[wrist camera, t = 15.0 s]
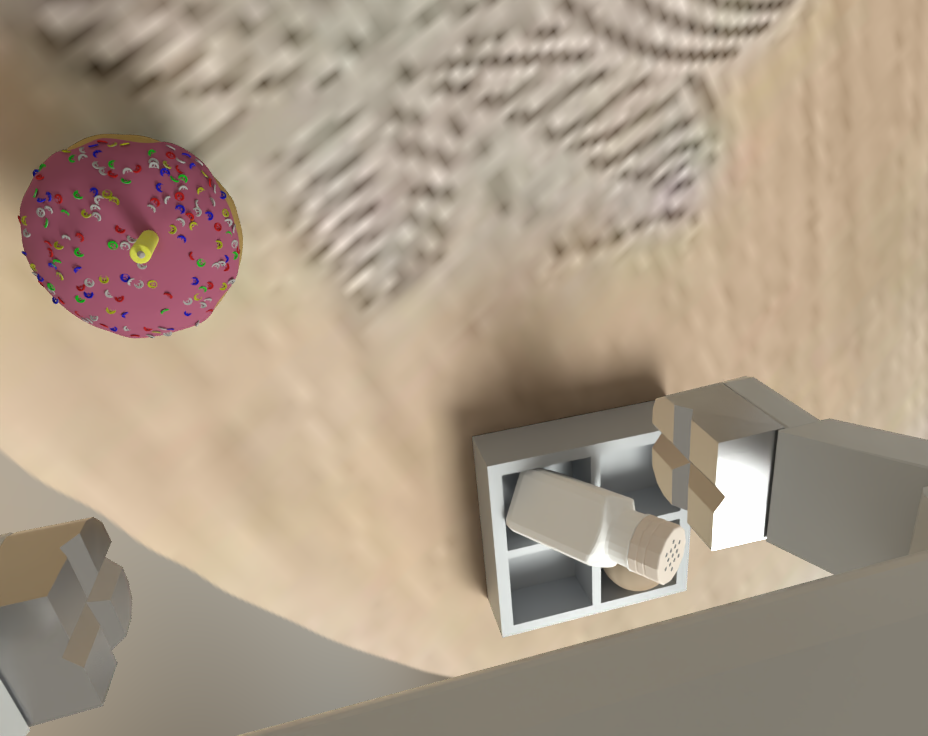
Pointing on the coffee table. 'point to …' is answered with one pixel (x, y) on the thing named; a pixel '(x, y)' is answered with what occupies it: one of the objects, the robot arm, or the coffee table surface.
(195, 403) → the coffee table surface
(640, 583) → the brown ball
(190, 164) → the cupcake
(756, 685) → the robot arm
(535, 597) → the grey compartment tray
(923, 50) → the coffee table surface
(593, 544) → the pepper shaker
